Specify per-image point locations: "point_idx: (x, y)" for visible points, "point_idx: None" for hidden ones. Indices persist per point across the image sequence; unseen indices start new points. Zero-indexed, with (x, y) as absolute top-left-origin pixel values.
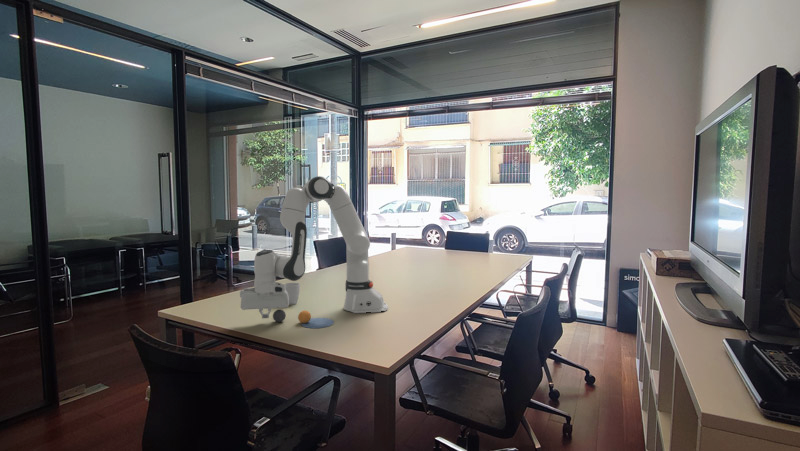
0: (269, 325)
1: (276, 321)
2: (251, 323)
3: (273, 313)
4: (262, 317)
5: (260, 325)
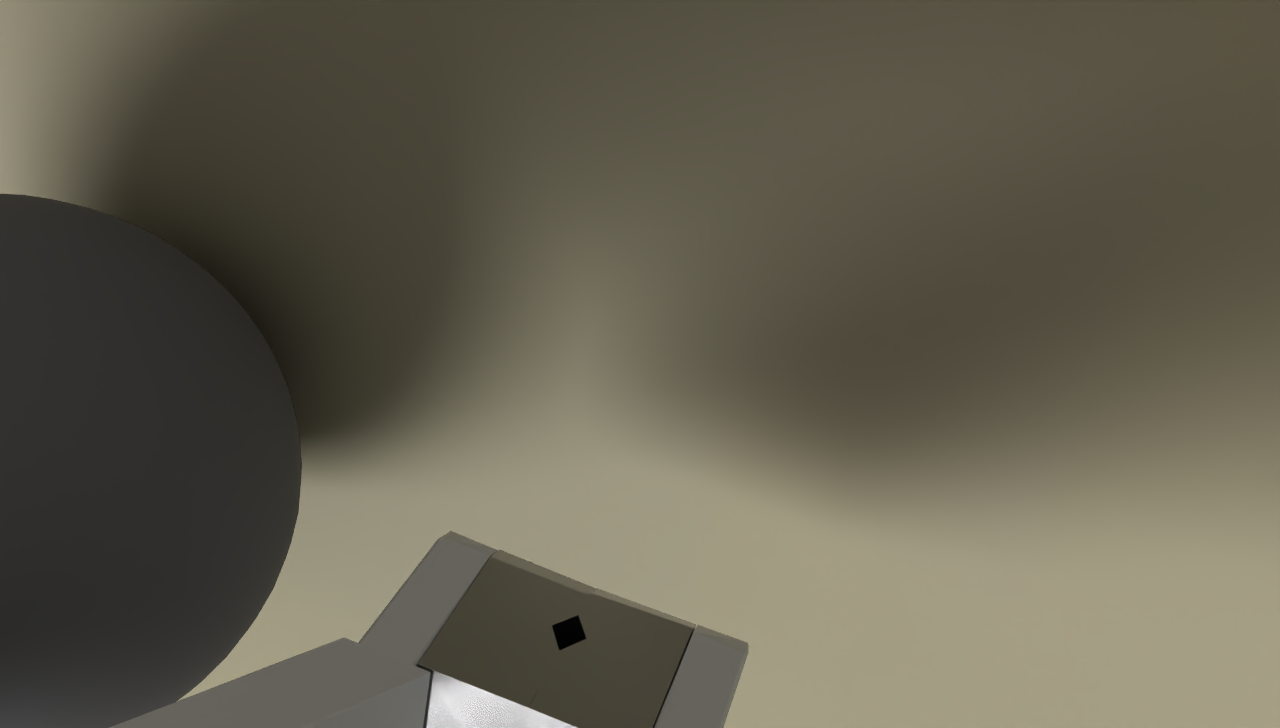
0: (541, 95)
1: (242, 310)
2: (1192, 717)
3: (142, 636)
4: (710, 655)
5: (910, 291)
